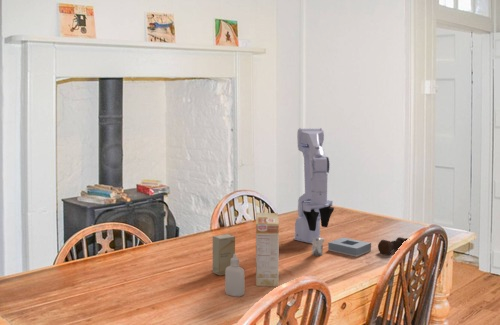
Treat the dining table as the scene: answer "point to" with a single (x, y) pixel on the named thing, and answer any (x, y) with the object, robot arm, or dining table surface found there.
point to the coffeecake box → (267, 249)
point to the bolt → (390, 245)
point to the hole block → (349, 246)
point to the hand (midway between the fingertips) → (318, 228)
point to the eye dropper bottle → (234, 278)
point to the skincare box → (222, 252)
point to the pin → (317, 246)
